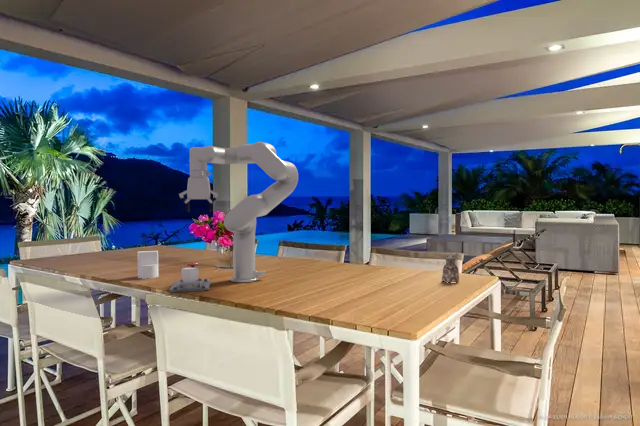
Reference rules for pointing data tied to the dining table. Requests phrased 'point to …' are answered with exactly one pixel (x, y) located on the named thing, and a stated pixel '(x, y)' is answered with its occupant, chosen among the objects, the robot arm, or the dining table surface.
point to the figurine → (450, 270)
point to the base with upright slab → (147, 264)
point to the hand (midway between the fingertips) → (199, 212)
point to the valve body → (191, 283)
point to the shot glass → (190, 274)
